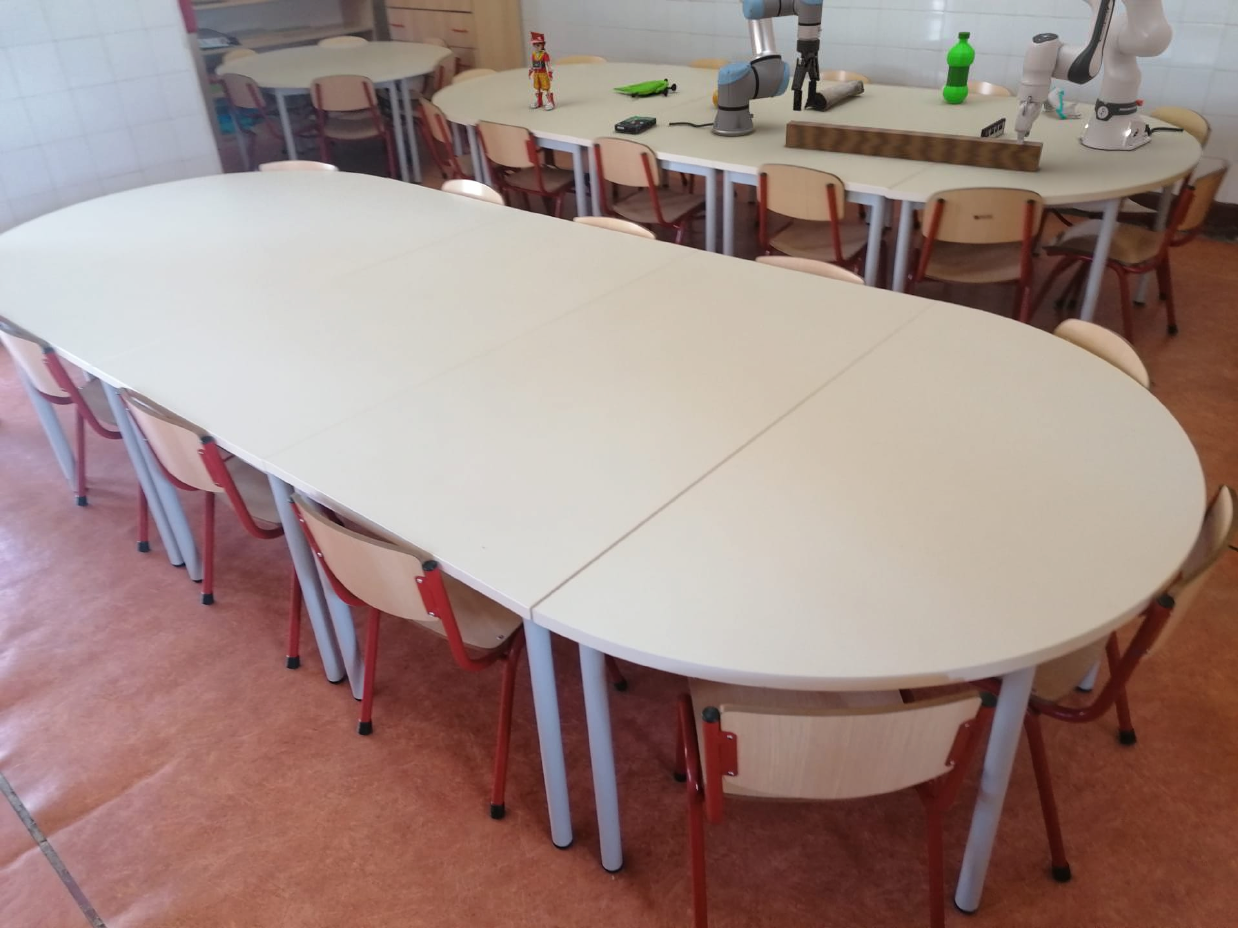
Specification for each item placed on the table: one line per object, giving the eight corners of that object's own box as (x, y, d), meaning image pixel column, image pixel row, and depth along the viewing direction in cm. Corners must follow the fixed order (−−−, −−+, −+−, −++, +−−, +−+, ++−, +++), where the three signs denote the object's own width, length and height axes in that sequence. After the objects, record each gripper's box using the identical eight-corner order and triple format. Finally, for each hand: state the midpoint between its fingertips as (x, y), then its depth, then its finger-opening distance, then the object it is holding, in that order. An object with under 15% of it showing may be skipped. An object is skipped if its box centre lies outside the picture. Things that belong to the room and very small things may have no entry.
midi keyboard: (982, 145, 305) (985, 130, 303) (979, 144, 306) (981, 129, 303) (1003, 133, 316) (1006, 118, 313) (999, 132, 317) (1002, 118, 314)
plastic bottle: (973, 101, 354) (984, 32, 339) (955, 106, 349) (966, 36, 335) (952, 97, 361) (962, 29, 346) (934, 102, 356) (944, 33, 342)
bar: (785, 146, 317) (786, 123, 312) (790, 143, 320) (791, 120, 316) (1035, 172, 280) (1040, 146, 276) (1038, 168, 283) (1043, 142, 279)
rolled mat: (839, 85, 375) (856, 69, 367) (851, 103, 375) (868, 87, 367) (800, 103, 358) (817, 87, 350) (813, 122, 358) (830, 107, 350)
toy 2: (686, 85, 398) (631, 84, 414) (685, 72, 395) (629, 72, 411) (651, 104, 381) (596, 103, 397) (650, 92, 378) (594, 91, 394)
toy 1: (525, 109, 381) (517, 32, 364) (534, 104, 388) (527, 28, 371) (550, 110, 377) (543, 32, 360) (559, 105, 384) (553, 28, 367)
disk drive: (637, 135, 339) (656, 124, 349) (637, 127, 338) (656, 117, 348) (614, 132, 344) (634, 122, 354) (613, 125, 343) (633, 115, 353)
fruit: (706, 100, 364) (717, 82, 360) (712, 103, 371) (722, 85, 368) (723, 111, 362) (734, 93, 359) (728, 114, 370) (739, 96, 367)
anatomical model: (1037, 86, 333) (1064, 79, 332) (1036, 115, 339) (1062, 107, 338) (1056, 96, 321) (1084, 88, 320) (1055, 125, 327) (1082, 118, 326)
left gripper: (805, 46, 286) (801, 115, 298) (832, 32, 303) (827, 98, 315) (783, 45, 289) (780, 113, 301) (811, 31, 307) (807, 97, 319)
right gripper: (1037, 101, 262) (1026, 149, 270) (1049, 87, 277) (1039, 133, 285) (1015, 99, 265) (1005, 147, 273) (1028, 85, 280) (1018, 131, 287)
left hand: (804, 106), depth 308 cm, fingers open, 13 cm apart
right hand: (1022, 140), depth 279 cm, fingers open, 8 cm apart
